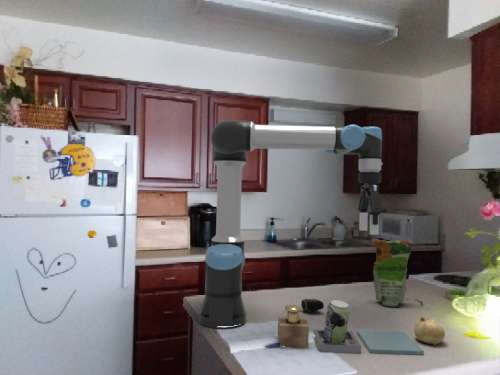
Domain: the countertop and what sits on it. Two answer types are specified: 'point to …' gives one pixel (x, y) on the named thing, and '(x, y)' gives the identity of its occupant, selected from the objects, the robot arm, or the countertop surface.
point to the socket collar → (337, 348)
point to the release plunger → (293, 313)
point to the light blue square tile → (389, 342)
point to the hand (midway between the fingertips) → (368, 232)
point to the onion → (429, 331)
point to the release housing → (293, 332)
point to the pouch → (391, 270)
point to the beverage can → (336, 322)
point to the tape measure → (312, 305)
